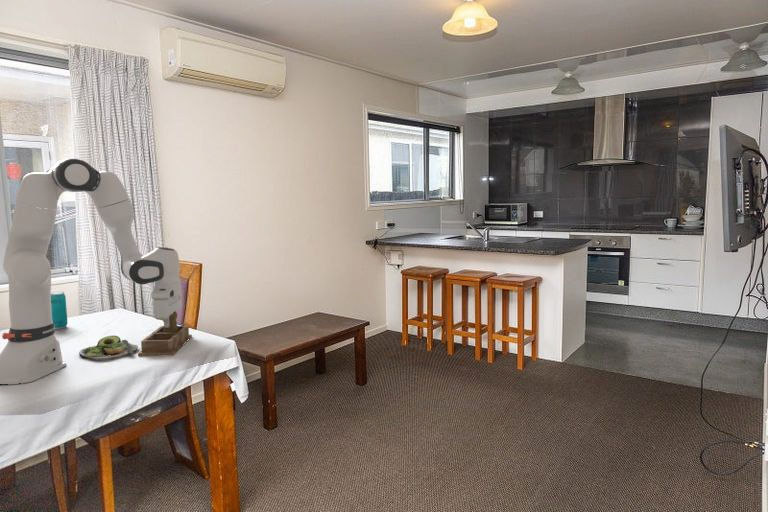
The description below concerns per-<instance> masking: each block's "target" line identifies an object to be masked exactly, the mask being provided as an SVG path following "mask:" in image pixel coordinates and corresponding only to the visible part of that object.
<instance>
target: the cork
mask: <svg viewBox="0 0 768 512" xmlns="http://www.w3.org/2000/svg"><path fill="white" fill-rule="evenodd" d="M177 319H178V312H177V311H175V312H173V314H171V315H170V316H169V322H170V327H168V328H165V327H164V330H163V333H173V332H178V327H177V326H178V323H177Z"/></svg>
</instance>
